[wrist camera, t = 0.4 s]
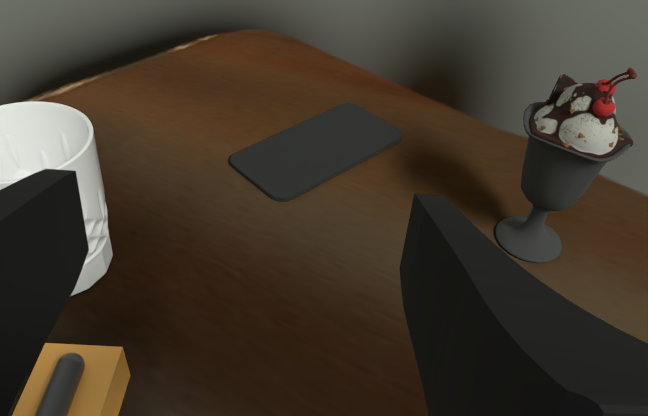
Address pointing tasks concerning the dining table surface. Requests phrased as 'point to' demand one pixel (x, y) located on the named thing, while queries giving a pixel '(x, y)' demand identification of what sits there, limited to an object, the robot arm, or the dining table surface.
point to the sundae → (562, 160)
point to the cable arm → (75, 382)
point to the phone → (314, 151)
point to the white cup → (59, 167)
